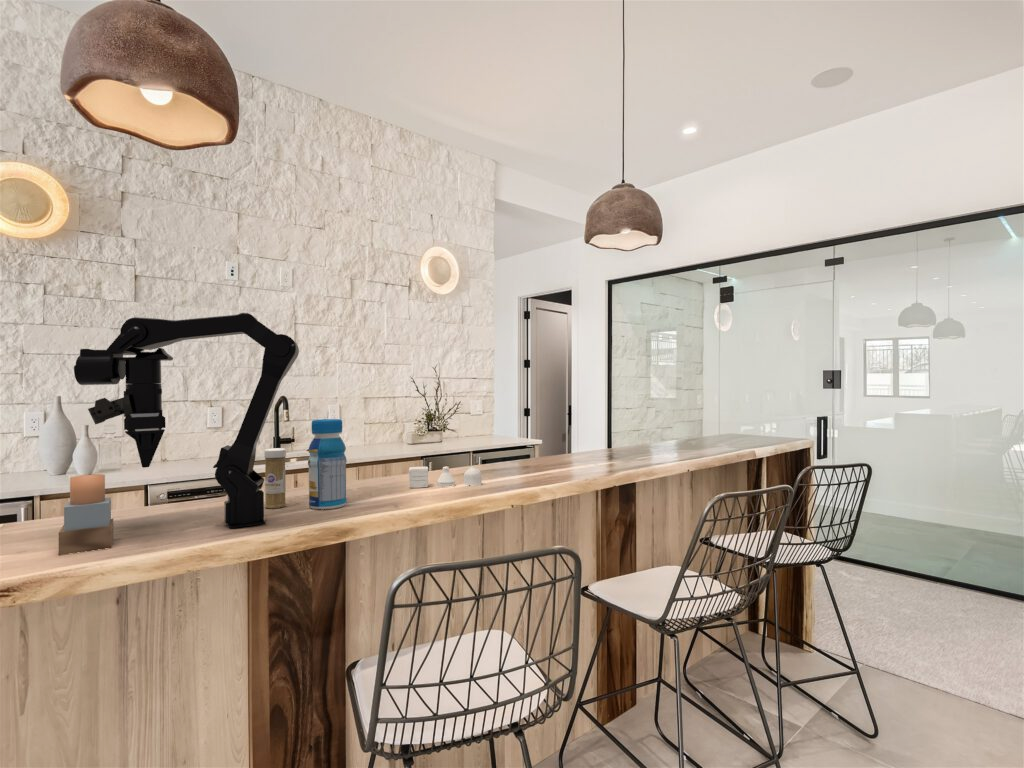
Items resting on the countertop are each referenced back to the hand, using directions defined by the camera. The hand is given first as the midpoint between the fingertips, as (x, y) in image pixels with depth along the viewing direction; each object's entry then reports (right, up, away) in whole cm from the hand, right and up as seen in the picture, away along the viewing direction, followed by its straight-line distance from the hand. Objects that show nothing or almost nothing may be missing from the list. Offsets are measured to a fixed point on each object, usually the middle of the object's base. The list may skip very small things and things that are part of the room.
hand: (145, 464), depth 105 cm
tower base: (-3, -13, -10) cm, 17 cm away
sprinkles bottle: (+16, -13, +21) cm, 29 cm away
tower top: (-3, -9, -10) cm, 14 cm away
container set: (+53, -13, +46) cm, 71 cm away
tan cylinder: (-3, -5, -10) cm, 12 cm away
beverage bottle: (+28, -13, +21) cm, 37 cm away
